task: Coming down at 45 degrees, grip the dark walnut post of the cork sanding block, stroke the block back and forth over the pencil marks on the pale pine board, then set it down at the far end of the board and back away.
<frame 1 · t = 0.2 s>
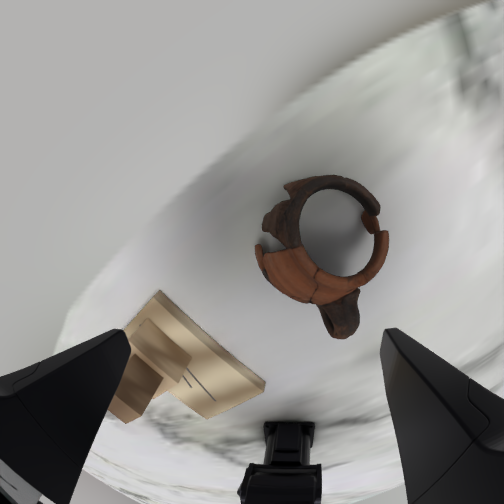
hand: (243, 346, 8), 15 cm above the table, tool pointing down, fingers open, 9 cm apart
sanding block: (157, 348, 27), point 2 cm above the table, touching pine board
pine board: (186, 361, 29), on the table
pottery mug: (318, 247, 23), on the table
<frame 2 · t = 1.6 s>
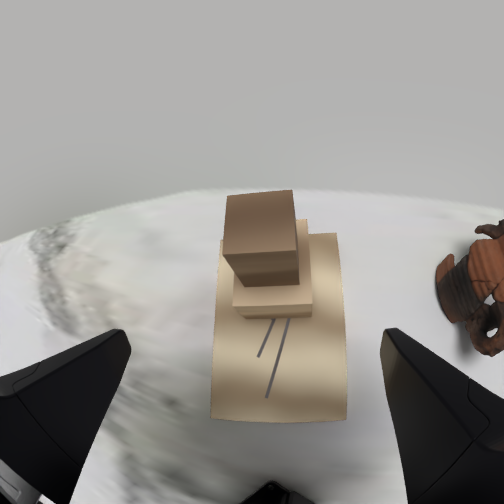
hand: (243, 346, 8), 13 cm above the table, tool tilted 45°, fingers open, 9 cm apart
sanding block: (278, 281, 22), point 2 cm above the table, touching pine board
pine board: (280, 328, 21), on the table
pottery mug: (473, 299, 19), on the table
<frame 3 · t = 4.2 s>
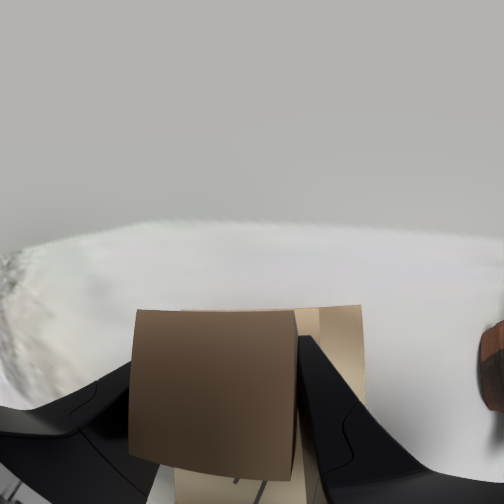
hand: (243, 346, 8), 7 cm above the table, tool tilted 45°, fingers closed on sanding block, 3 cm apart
sanding block: (266, 384, 13), point 2 cm above the table, touching gripper, pine board
pine board: (268, 440, 13), on the table
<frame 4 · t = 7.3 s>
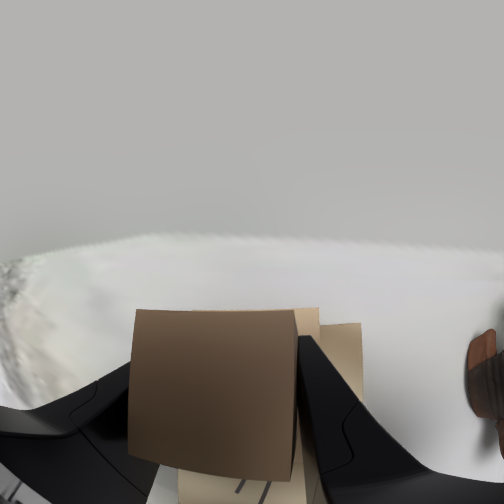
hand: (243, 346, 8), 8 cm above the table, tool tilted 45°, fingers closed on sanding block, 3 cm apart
sanding block: (266, 384, 13), point 2 cm above the table, touching gripper
pine board: (268, 452, 13), on the table
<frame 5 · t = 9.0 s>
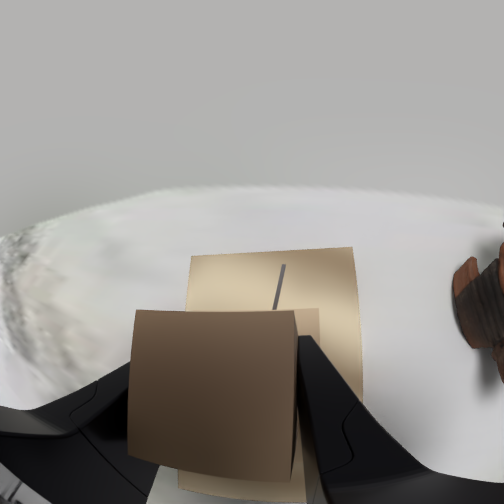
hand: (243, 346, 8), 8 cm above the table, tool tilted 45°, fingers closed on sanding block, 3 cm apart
sanding block: (266, 384, 13), point 2 cm above the table, touching gripper
pine board: (271, 380, 15), on the table
pottery mug: (498, 313, 13), on the table
when the fingers open (7 cm above the table, at t = 10.3 s): sanding block stays where it is, resting on pine board.
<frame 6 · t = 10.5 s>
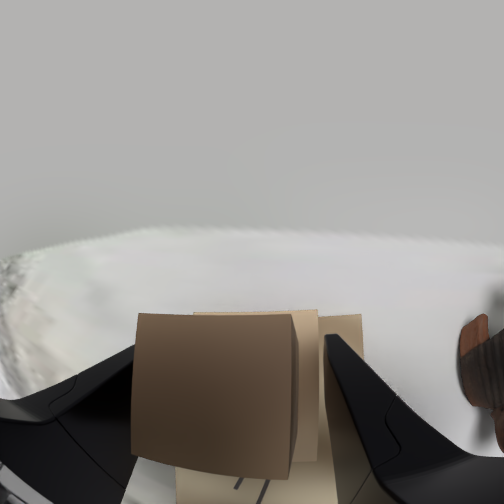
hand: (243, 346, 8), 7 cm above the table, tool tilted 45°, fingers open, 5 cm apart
sanding block: (266, 385, 13), point 2 cm above the table, touching pine board
pine board: (268, 447, 13), on the table
pottery mug: (503, 365, 11), on the table
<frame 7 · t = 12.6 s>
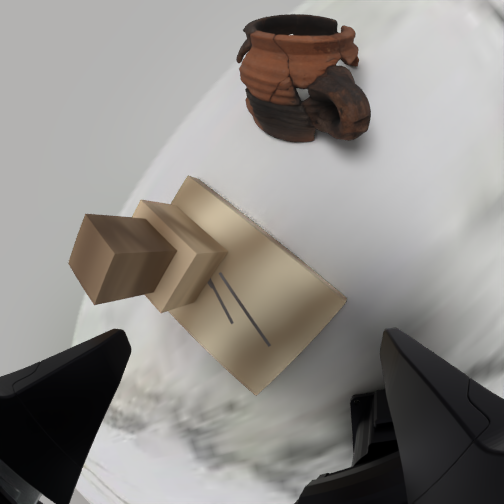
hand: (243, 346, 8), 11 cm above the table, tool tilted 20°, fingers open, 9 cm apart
sanding block: (184, 253, 21), point 2 cm above the table, touching pine board
pine board: (228, 283, 21), on the table
pottery mug: (315, 99, 19), on the table
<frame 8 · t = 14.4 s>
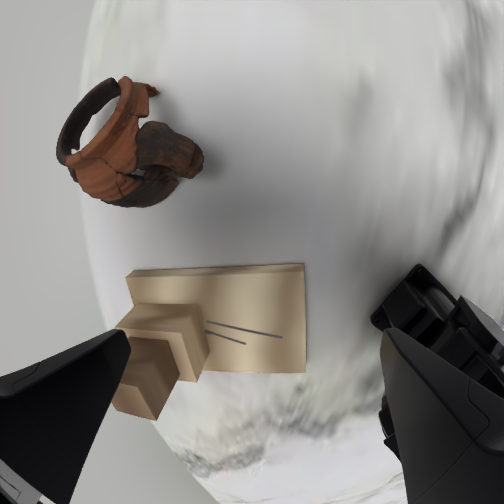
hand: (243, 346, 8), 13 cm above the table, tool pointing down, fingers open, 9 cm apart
sanding block: (173, 328, 23), point 2 cm above the table, touching pine board
pine board: (219, 319, 24), on the table
pottery mug: (152, 147, 20), on the table
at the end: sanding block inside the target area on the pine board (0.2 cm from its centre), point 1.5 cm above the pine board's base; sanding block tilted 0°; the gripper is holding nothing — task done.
